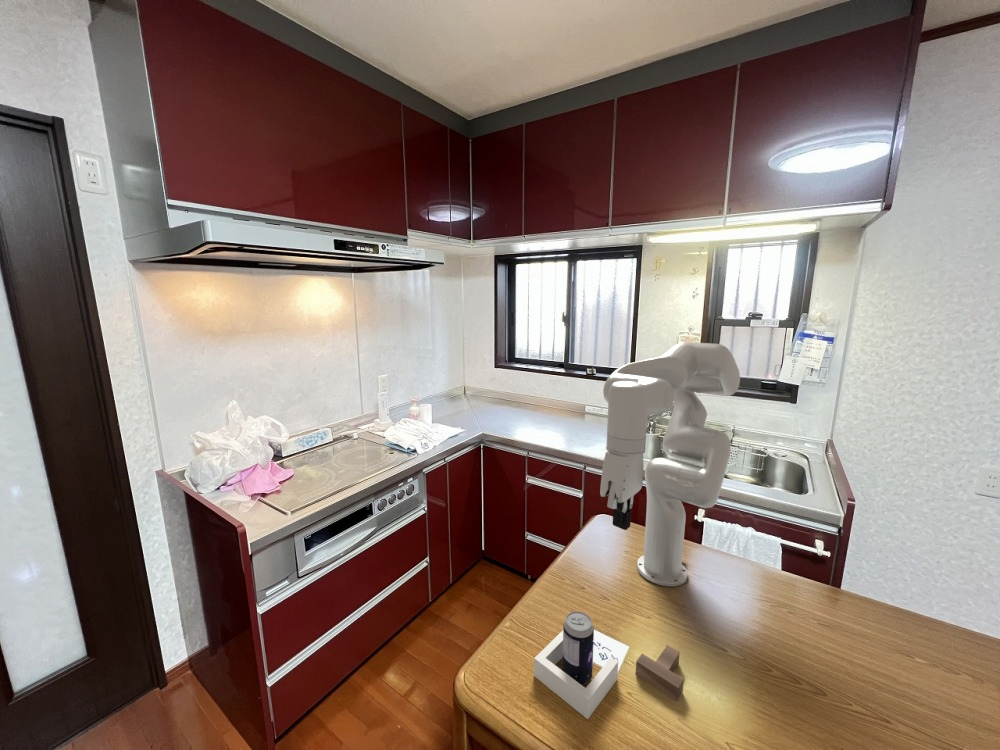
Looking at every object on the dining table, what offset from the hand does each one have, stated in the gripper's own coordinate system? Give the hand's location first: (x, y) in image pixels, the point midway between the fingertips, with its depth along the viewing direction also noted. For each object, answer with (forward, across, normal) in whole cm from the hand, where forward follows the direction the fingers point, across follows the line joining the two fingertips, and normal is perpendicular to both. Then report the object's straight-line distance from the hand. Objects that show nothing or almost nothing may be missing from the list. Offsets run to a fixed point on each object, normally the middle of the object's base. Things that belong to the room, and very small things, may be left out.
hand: (621, 526), depth 85 cm
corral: (+25, +16, 0) cm, 30 cm away
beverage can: (+25, +15, 0) cm, 29 cm away
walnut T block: (+25, +3, +12) cm, 28 cm away
